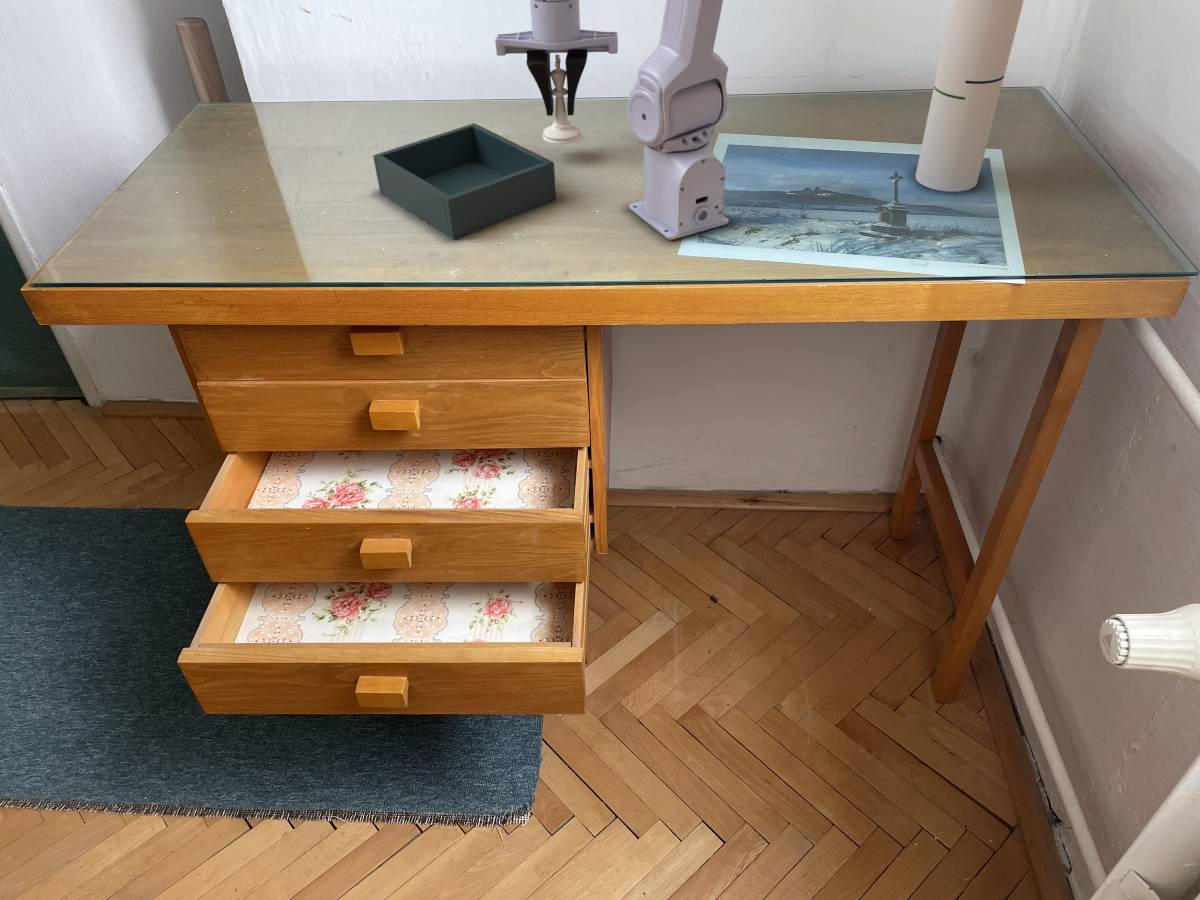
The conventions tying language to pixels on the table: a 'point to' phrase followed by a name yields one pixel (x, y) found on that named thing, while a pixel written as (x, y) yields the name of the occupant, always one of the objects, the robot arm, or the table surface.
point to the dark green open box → (465, 179)
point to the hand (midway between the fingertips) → (560, 112)
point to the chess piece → (560, 112)
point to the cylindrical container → (966, 92)
